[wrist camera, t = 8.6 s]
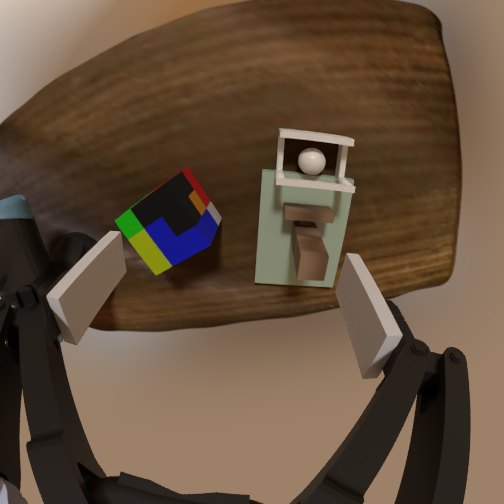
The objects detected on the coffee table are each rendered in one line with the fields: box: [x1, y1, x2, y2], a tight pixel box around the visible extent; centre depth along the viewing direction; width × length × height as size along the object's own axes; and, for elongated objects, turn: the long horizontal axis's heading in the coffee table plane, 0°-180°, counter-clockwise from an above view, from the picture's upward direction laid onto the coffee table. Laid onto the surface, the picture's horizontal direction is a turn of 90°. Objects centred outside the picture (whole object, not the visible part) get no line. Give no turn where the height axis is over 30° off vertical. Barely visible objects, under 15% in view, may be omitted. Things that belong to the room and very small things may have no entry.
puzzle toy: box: [115, 167, 222, 275], centre depth 40 cm, size 10×10×10 cm
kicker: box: [283, 202, 335, 281], centre depth 38 cm, size 7×6×11 cm
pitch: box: [255, 128, 355, 287], centre depth 40 cm, size 14×26×8 cm, turn 177°
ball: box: [298, 148, 326, 175], centre depth 38 cm, size 4×4×4 cm
